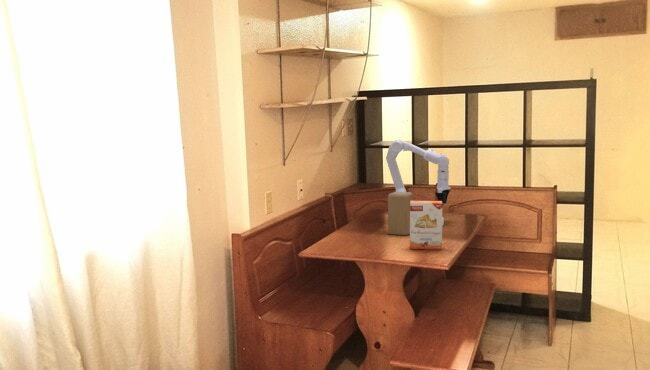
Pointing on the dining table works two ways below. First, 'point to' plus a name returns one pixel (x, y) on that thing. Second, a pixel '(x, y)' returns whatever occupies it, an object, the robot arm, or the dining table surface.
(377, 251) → the dining table surface
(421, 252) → the dining table surface
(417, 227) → the cracker box
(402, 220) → the wooden block
